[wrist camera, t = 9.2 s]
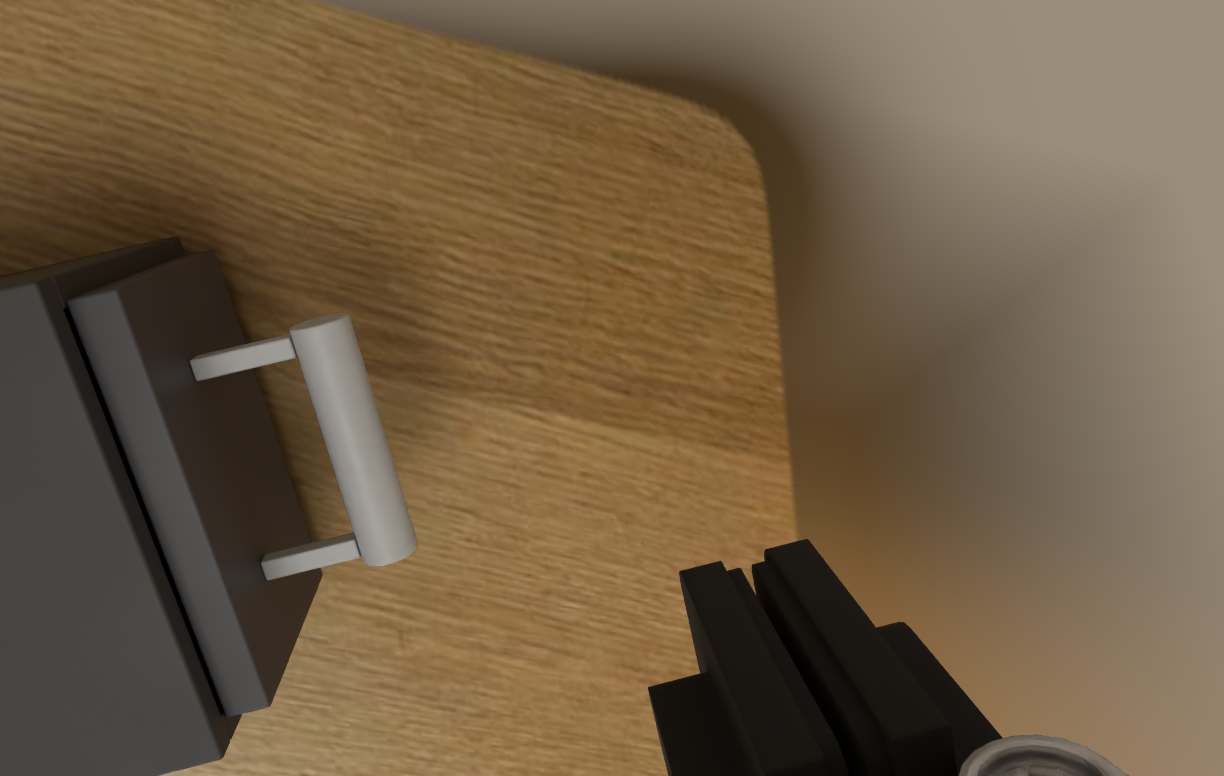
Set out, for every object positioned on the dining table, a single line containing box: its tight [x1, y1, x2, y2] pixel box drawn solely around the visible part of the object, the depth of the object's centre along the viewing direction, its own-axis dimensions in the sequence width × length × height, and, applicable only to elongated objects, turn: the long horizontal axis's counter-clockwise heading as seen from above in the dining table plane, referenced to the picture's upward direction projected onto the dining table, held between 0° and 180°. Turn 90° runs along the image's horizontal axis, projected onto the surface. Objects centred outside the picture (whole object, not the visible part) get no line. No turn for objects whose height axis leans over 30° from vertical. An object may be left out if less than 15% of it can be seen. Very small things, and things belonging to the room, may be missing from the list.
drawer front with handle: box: [63, 250, 418, 717], centre depth 27 cm, size 18×11×8 cm, turn 102°
